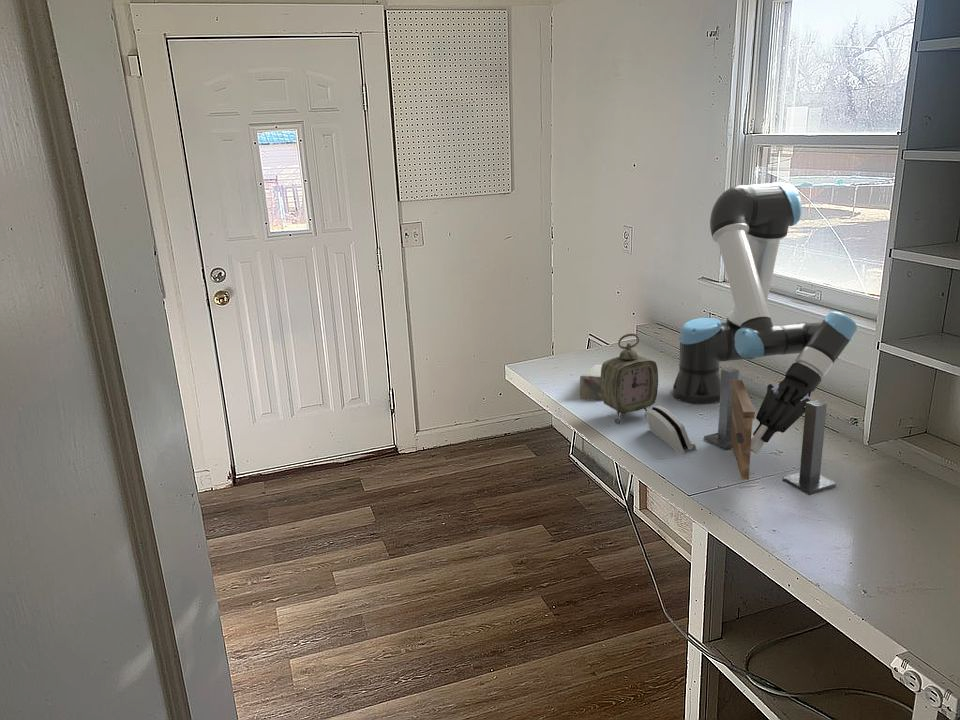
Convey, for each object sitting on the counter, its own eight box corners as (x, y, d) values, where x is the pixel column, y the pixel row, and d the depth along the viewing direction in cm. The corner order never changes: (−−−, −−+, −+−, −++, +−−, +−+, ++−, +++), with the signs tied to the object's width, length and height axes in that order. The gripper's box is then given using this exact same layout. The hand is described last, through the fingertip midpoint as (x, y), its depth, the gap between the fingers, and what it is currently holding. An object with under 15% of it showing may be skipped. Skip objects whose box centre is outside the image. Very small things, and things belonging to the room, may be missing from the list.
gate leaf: (738, 441, 192) (742, 380, 187) (750, 479, 172) (754, 412, 167) (725, 441, 193) (728, 379, 188) (735, 479, 173) (739, 411, 168)
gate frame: (727, 433, 201) (731, 362, 195) (836, 487, 170) (844, 405, 164) (703, 439, 198) (706, 368, 192) (809, 495, 167) (817, 412, 161)
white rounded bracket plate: (698, 450, 192) (687, 418, 188) (682, 459, 191) (671, 427, 187) (666, 427, 207) (655, 396, 203) (651, 434, 206) (640, 404, 203)
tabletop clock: (615, 427, 209) (616, 341, 201) (597, 417, 216) (597, 334, 209) (657, 416, 214) (659, 333, 207) (638, 407, 222) (639, 326, 215)
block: (594, 380, 248) (594, 357, 245) (618, 382, 245) (618, 359, 242) (579, 399, 231) (579, 375, 229) (605, 402, 228) (605, 377, 226)
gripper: (838, 386, 175) (780, 468, 174) (794, 371, 186) (740, 447, 185) (822, 369, 171) (763, 452, 170) (779, 355, 183) (723, 433, 182)
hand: (751, 450), depth 178 cm, fingers closed
